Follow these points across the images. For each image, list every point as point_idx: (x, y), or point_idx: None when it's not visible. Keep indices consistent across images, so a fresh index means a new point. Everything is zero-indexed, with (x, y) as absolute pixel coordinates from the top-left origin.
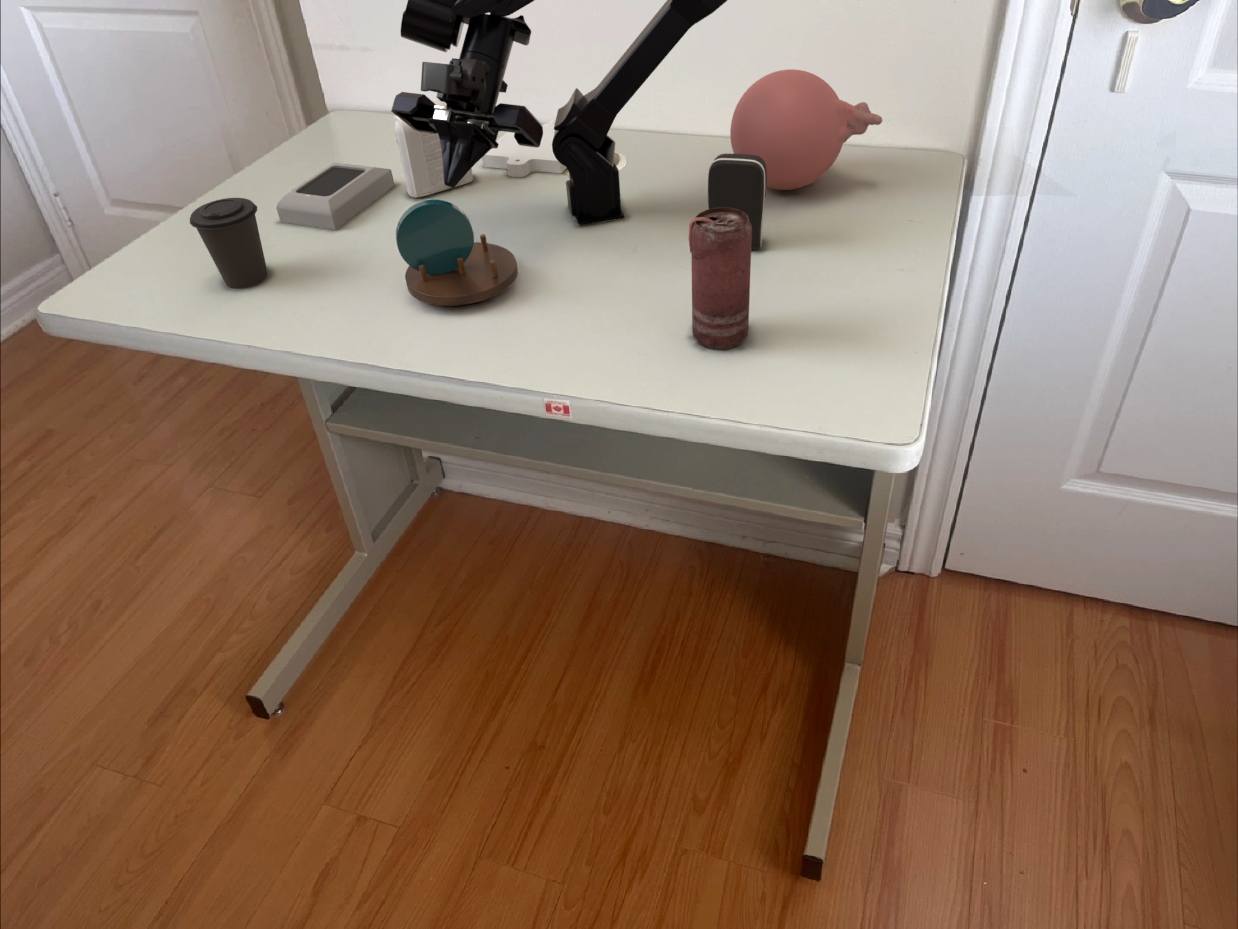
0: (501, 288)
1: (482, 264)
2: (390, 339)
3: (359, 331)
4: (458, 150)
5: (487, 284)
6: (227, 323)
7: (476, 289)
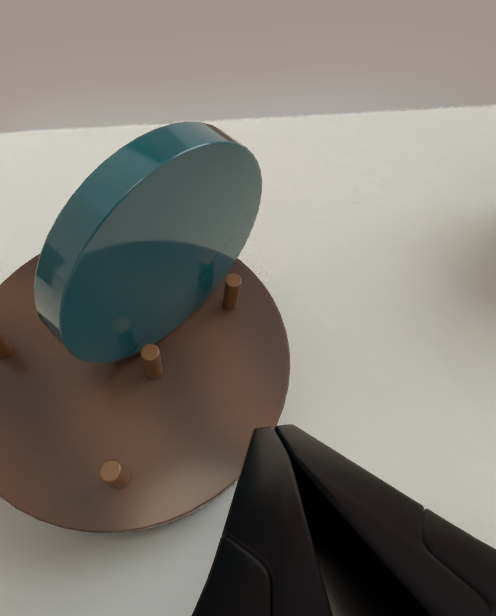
0: None
1: (78, 392)
2: None
3: None
4: (272, 580)
5: (7, 307)
6: (447, 137)
7: (28, 279)
